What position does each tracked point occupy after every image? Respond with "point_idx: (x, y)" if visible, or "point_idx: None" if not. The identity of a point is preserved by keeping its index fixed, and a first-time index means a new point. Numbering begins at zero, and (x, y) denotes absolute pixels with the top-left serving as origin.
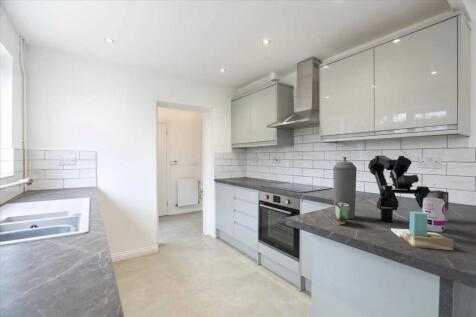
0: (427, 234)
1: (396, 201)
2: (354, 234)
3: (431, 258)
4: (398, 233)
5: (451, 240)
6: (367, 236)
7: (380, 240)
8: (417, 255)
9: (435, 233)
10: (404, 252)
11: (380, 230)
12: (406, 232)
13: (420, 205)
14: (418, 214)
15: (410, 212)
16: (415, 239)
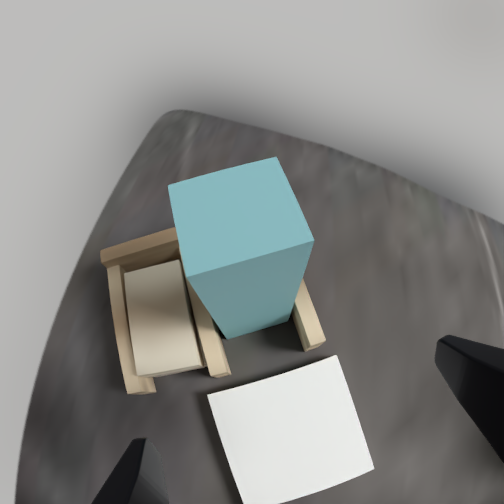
0: (191, 326)
1: (495, 356)
2: (495, 266)
3: (233, 145)
4: (341, 379)
5: (109, 250)
6: (458, 268)
7: (407, 242)
8: (273, 148)
9: (141, 359)
10: (313, 154)
11: (423, 423)
12: (307, 321)
13: (152, 475)
14: (243, 169)
15: (306, 230)
16: None
